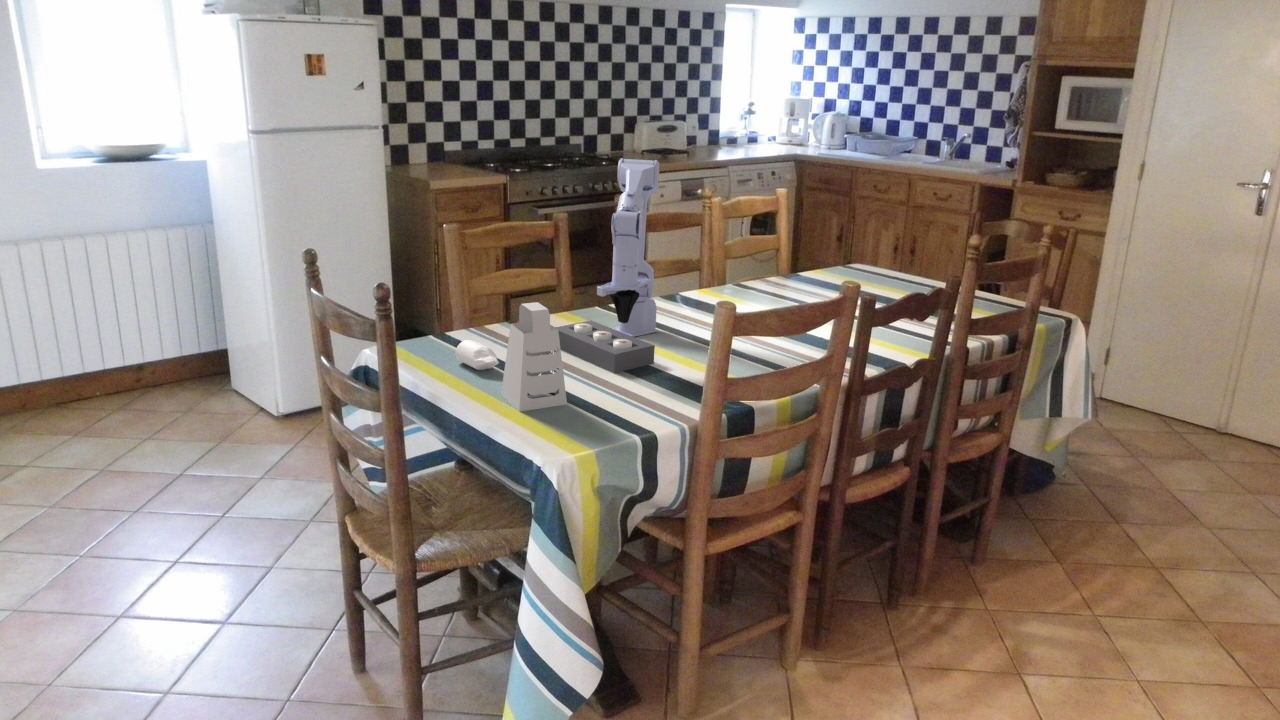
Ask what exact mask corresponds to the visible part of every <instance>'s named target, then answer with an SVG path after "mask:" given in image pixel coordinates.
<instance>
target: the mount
mask: <svg viewBox="0 0 1280 720" xmlns="http://www.w3.org/2000/svg"><path fill="white" fill-rule="evenodd" d="M581 323H584V324H590V325H592V331H589V332H585V333H579V332H577V331H574V325H576V324H581ZM554 327H555V326H554ZM555 328H556V329H558V332H559V340H560V349H561V351H563V352H565V353H567V354H570V355H572V356H575V357H576V358H579V359H581V360H584V361H586V362H588V363H590V364H592V365H595V366H596V367H599V368H602V369H603V370H606V371H608V372H610V373H612V374H616V373H617V374H618V373H620V372H624V371H629V370H632V369H637V368H641V367H645V366H649V365H650V366H651V365H654V364H655V347H656V346H655V344H653V343H649V342H647V341H644V340H642V339H640V338H637V337H636V336H635V337H632V336H630V335H627V334H625V333H622V332H620V331H617V330H614V329H612V328H613V327H610V326H606V325H603V324H602V323H600V322H597V321H594V320H591V319H590V320H586V321H582V322H575V323H571V324H565V325H562V326H556V327H555ZM597 331H606V332H610V333H611V334H612V339H609V340H604V341H599V340H596V339H594V338H593V333H594V332H597ZM617 339H626V340H630V341H632V347H631V348H626V349H622V350H620V349H618V348H616V347H613V341H614V340H617Z"/></svg>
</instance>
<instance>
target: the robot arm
mask: <svg viewBox="0 0 1280 720" xmlns="http://www.w3.org/2000/svg"><path fill="white" fill-rule="evenodd" d="M659 176H660V162H659V161H658V160H657V159H654V160H649V159H633V158H632V159H630V158H629V159H628V158H623V157H621V158H620V159H619V160H618V165H617V175H616V177H617V183H618V186H619V188H620V191H621V192H622V193H621V194H620V196H619V199H618V202H617V203H618V204H617V206H616V212H613V213H612V217H611V234H612V235H611V237H612V242H611V243H612V245H613V248H612V250H613V251H612V274H611V275H612V276H611V277H612V278H611V281H610V282H607V283H605V284H602V285H597V286H596V296H599V297H602V298H603V297H606V296H608V295H609V298H610V299H611V301H612V303H613V305H614V308H615V312H616V316H617V321H618V326H615V327H611V328H612V329H614V330H617V331H620V332H622V333H625V334H627V335H630V336H632V337H635V338H636V337H639V336H644V335H647V334H648V335H649V334H652V333H657V332H658V329H656V327H657V326H656V324H657V304H656V301H655V300H654V298H653V296H654V287H655V277H654V276H655V275H654V274H655V273H654V272H655V271H654V268H653V267H652V266H653V265H650V264H649V263H648V262H647V261H646V260H645V246H646V226H647V210H648V209H647V208H648V201H649V198H650V196H652V195H654V194H657V191H658V188H659V178H660V177H659Z"/></svg>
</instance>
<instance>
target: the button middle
mask: <svg viewBox="0 0 1280 720" xmlns="http://www.w3.org/2000/svg"><path fill="white" fill-rule="evenodd" d="M593 338H594V339H596V340H599V341H604V340H609V339H612V334H611V333H610V332H606V331H597V332H594V333H593Z"/></svg>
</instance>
